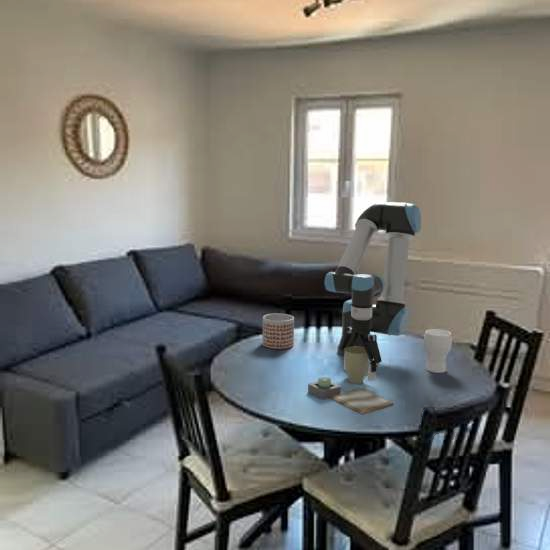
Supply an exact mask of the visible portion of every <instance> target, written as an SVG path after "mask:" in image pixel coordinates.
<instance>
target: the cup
mask: <svg viewBox="0 0 550 550" xmlns="http://www.w3.org/2000/svg"><path fill="white" fill-rule="evenodd" d="M424 332H425V333H424V336H423V342H422V343H423V348H424V350H425V353H426V356H427V357H426V358H427V361H426V365H425V370H426V371H428V372H429V373H430V372H431V373H436V374H437V373H439V374H440V373H441V374H442V373H445V372H446V371H447V364H446V360H447V356H448V354H449V353H450V351H451V348H452V345H453V336H452V333H451V332H450V331H448V330H444V329H438V328H437V329H436V328H432V329H426V331H424Z"/></svg>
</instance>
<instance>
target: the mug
mask: <svg viewBox="0 0 550 550" xmlns="http://www.w3.org/2000/svg"><path fill="white" fill-rule="evenodd" d="M369 363H370V360H369V357H368V355H367V353H366V350H365V348H364V347H359V346H351V347H347V348H345V367H346V370H345V372H346V374H347V377H348V381H349V383H352V384H353V385H354V384H356V385H357V384H358V385H359V384H362V383H363V382H364V378H365V377H366V376H367V377H368V369H369ZM379 365H380V364H379V363H377V368H378V367H379Z"/></svg>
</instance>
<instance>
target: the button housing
mask: <svg viewBox="0 0 550 550" xmlns="http://www.w3.org/2000/svg"><path fill="white" fill-rule="evenodd" d="M307 392H308V393H309V394H310V395H313V396H315V397H317V398H318V399H319V400H320V399H321V400H322V401H323V400H326V399H330V398H329V396H332V395H335V394H339V393H342V387H341V385H339V384H337V383H335V382H332V381H331V387H329V388H326V389H322V388H320V387H318V380H317V381H314V382H311V383H307Z"/></svg>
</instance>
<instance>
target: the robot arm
mask: <svg viewBox="0 0 550 550" xmlns="http://www.w3.org/2000/svg"><path fill="white" fill-rule="evenodd" d="M421 228H422V216H421V211H420V208H419V207H418V205H417V204H415V203H409V202H385V201H383V202H376V203H375V204H373V205H370V206H368V207H367V208H366V209H365V210H364V211H362V213H361V214H360V215H359V217H358V218H357V220H356V222H355V224H354V229H355V230H354V232H353V233H352V236H351V238H350V240H349V243H348V245H347V246H346V248H345V250H344V253H343V255H342V257H341V260H340V261H339V264H338V266H337V267H336V269H335V271H329V272H328V273H326V275H325V278H324V287H325V290H327V291H328V292H332V293H337V294H338V293H341V294H348V295H351V299H348V300H346V301H344V302H343V306H342V318H341V319H342V327H341V330H342V332H341V337H340V339H339V343H338V345H337V348H336V349H337V351H336V353H337V354H338V355H339V356H341V357H343V359H342V360H343V371H346V367H345V348H347V347H351V346H359V347H364V348H365V350H366V353H367V355H368V357H369V362H368V368H367V373H368V375H367V377H368V378H367V381H368V382H371V381H375V380H376V372H377V370H378V369H377V368H378V367H377V363H382V356H381V353H380V349H379V344H378V339H377V338H378V337H377V335H376V334H381V335H382V334H383V335H388V336H397V337H398V336H401V335H402V334H404V332H405V330H406V328H407V325H408V322H409V316H410V315H409V314H410V312H409V308H407V307H406V302H405V300H403V299H404V298H403V297H404V295H403V294H404V288H405V283H406V282H405V281H406V273H407V266H408V265H407V264H408V258H409V251H410V243H411V241H412V240H413V239H414V238H415V235H416V234H418V233H419V232H420V231H421ZM379 231H385V236H386V237H387V238H388V242H387V249H386V256H385V257H386V258H385V264H384V272H383V277H382V276H381V275H378V274H368V273H366V274H364V273H357V271H358V270H359V267H360V264H361V263H362V260H363V258H364V257H365V254H366V252H367V249H368V247H369V245H370V243H371V241H372V238H373V237H375V236H376V235H377V233H378V232H379ZM379 295H380V296H379ZM377 296H379V297H378V298H377V299H376V301H375V302H376V303H374V298H375V297H377ZM371 333H375V334H371Z"/></svg>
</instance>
